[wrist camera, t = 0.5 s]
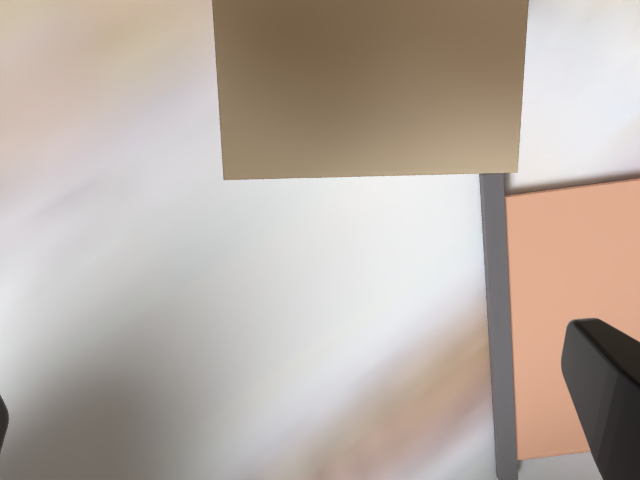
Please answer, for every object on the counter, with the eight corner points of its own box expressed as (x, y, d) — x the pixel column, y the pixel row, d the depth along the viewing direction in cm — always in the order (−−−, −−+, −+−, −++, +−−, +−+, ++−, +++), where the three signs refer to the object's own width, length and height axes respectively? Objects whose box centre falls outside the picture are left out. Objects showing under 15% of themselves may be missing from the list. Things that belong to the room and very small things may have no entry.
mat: (732, 447, 26) (740, 453, 26) (496, 476, 26) (500, 483, 26) (751, 138, 23) (760, 139, 22) (479, 173, 23) (483, 175, 22)
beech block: (399, 126, 22) (517, 172, 10) (270, 129, 22) (223, 180, 10) (401, -13, 21) (539, -163, 9) (264, -10, 21) (202, -158, 9)
